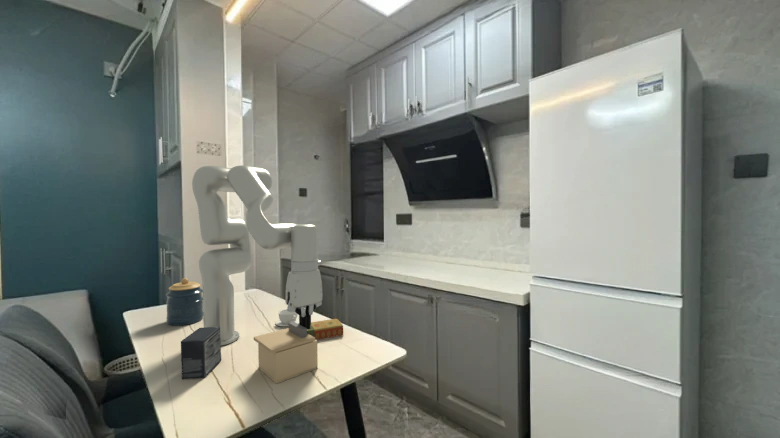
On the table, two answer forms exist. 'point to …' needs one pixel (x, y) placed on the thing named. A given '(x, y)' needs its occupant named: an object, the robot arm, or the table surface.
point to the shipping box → (288, 361)
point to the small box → (200, 352)
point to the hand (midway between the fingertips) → (305, 328)
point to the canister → (184, 303)
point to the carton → (325, 329)
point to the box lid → (285, 338)
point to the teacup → (287, 318)
